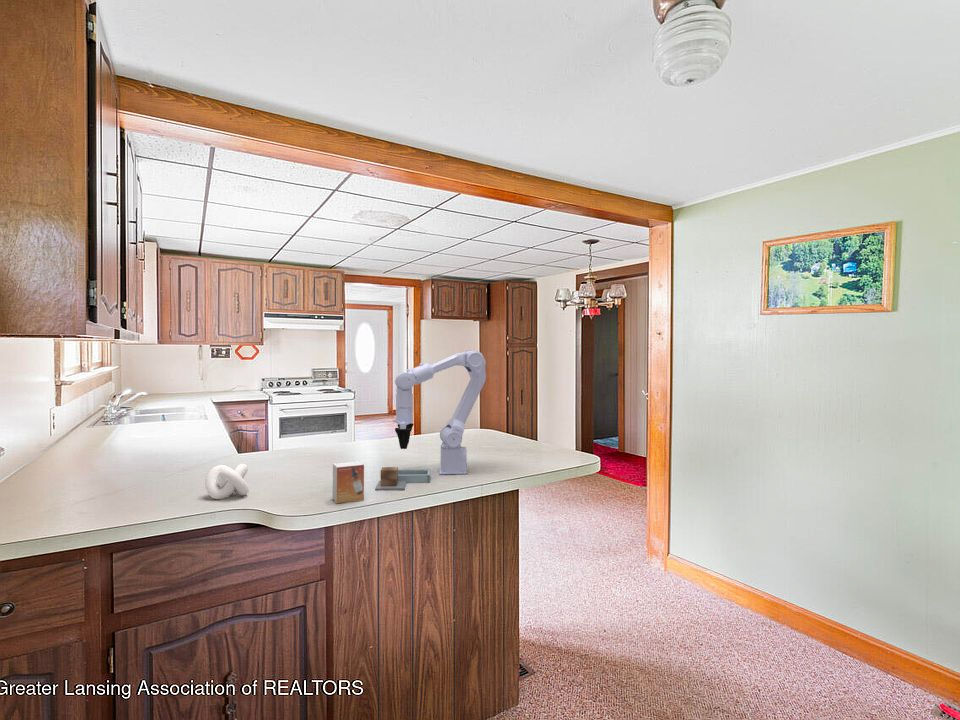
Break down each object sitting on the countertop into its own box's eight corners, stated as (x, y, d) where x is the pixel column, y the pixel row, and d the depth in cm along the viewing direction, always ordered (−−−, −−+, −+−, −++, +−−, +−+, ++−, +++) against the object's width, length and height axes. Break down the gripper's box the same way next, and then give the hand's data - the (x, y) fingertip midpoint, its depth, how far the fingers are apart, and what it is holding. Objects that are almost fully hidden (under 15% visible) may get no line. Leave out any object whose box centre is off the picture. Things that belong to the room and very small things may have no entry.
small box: (336, 504, 139) (336, 467, 139) (332, 498, 144) (332, 463, 144) (364, 500, 143) (364, 464, 142) (359, 495, 148) (359, 460, 147)
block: (397, 482, 159) (397, 467, 159) (396, 485, 155) (396, 470, 155) (382, 482, 159) (382, 467, 159) (380, 486, 155) (380, 470, 155)
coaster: (406, 482, 162) (406, 480, 162) (404, 490, 153) (404, 488, 153) (379, 482, 161) (379, 480, 161) (375, 490, 152) (375, 488, 152)
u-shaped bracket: (430, 476, 168) (430, 469, 168) (429, 482, 161) (429, 475, 161) (385, 477, 167) (385, 470, 167) (383, 483, 160) (383, 475, 160)
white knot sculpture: (261, 494, 148) (261, 464, 148) (222, 505, 138) (222, 473, 137) (239, 488, 154) (239, 459, 154) (200, 498, 144) (200, 467, 144)
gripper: (394, 404, 177) (394, 442, 177) (390, 410, 163) (390, 451, 163) (414, 404, 178) (414, 442, 178) (412, 410, 163) (412, 450, 163)
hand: (404, 446), depth 170 cm, fingers open, 7 cm apart
